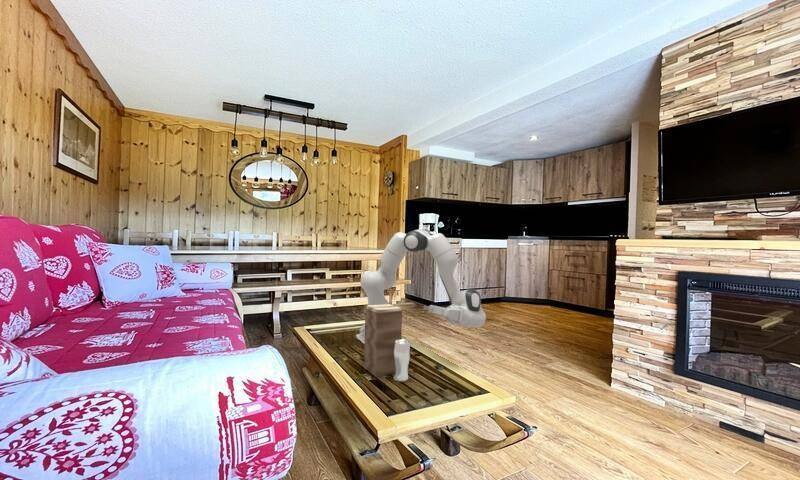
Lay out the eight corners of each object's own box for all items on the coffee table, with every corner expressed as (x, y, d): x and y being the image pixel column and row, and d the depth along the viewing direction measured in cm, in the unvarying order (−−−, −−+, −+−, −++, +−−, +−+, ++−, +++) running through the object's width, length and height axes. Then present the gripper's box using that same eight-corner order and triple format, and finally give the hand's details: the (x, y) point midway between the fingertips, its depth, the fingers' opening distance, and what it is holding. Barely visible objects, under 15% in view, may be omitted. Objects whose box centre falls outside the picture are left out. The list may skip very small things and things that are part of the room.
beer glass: (409, 375, 141) (410, 339, 141) (408, 382, 134) (409, 344, 134) (393, 374, 142) (394, 338, 142) (391, 381, 135) (392, 343, 135)
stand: (363, 367, 149) (365, 308, 149) (387, 363, 155) (389, 306, 155) (375, 376, 139) (377, 313, 139) (400, 371, 146) (402, 310, 146)
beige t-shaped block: (366, 308, 149) (366, 304, 149) (406, 304, 160) (406, 301, 160) (378, 313, 140) (378, 309, 140) (420, 308, 151) (420, 305, 151)
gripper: (445, 305, 173) (421, 299, 169) (466, 309, 154) (438, 303, 150) (443, 317, 172) (418, 312, 168) (463, 323, 153) (436, 318, 149)
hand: (428, 308), depth 159 cm, fingers open, 8 cm apart
